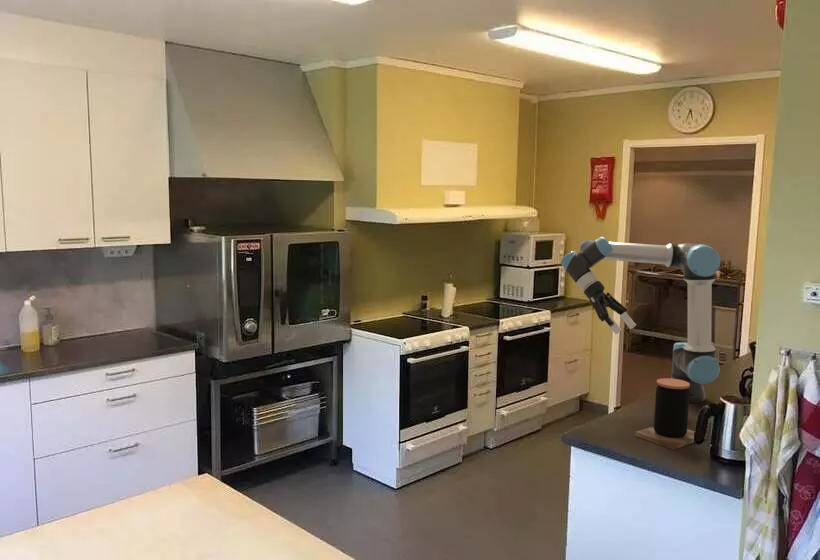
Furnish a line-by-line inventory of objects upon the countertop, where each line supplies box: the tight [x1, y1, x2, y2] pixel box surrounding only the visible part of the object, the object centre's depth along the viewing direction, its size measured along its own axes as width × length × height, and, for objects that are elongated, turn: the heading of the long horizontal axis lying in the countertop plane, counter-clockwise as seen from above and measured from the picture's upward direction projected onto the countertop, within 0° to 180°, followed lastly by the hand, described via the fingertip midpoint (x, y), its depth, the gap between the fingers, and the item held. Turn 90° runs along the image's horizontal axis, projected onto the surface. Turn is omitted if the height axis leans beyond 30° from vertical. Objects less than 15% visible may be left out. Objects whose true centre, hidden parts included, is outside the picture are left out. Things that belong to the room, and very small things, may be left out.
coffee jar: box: [653, 377, 690, 438], centre depth 230 cm, size 11×11×18 cm
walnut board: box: [634, 426, 695, 450], centre depth 231 cm, size 18×15×2 cm
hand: (626, 329), depth 252 cm, fingers open, 13 cm apart
